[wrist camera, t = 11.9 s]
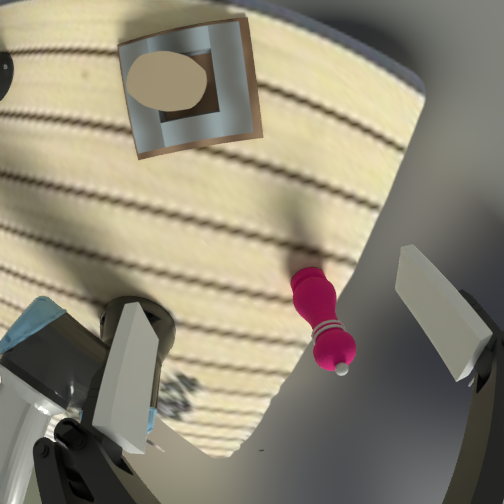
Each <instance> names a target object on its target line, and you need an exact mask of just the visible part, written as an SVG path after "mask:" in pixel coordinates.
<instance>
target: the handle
mask: <svg viewBox="0 0 504 504" xmlns="http://www.w3.org/2000/svg"><path fill="white" fill-rule="evenodd" d="M206 85H207V75H206V71H205V70H204V69H203V68H202V67H201V66H199V65H198V64H197V63H196V62H195V61H194V60H192V59H191V58H189V57H188V56H185V55H182V54H178V53H174V52H169V51H157V52H152V53H148V54H144V55H141V56H140V57H138V58H137V59H136V60H135V61H134V63H133V64H132V66H131V68H130V70H129V72H128V76H127V81H126V86H127V91H128V93H129V94H130V95H131V96H132V97H133V98H135V99H136V100H137V101H138V102H139V103H141V104H142V105H144V106H147V107H149V108H153V109H157V110H161V111H178V110H184V109H190V108H192V107H193V106H195V105H196V104H197V103H198V102H199V101H200V99H201V98H202V96H203V94H204V92H205V89H206Z"/></svg>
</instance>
